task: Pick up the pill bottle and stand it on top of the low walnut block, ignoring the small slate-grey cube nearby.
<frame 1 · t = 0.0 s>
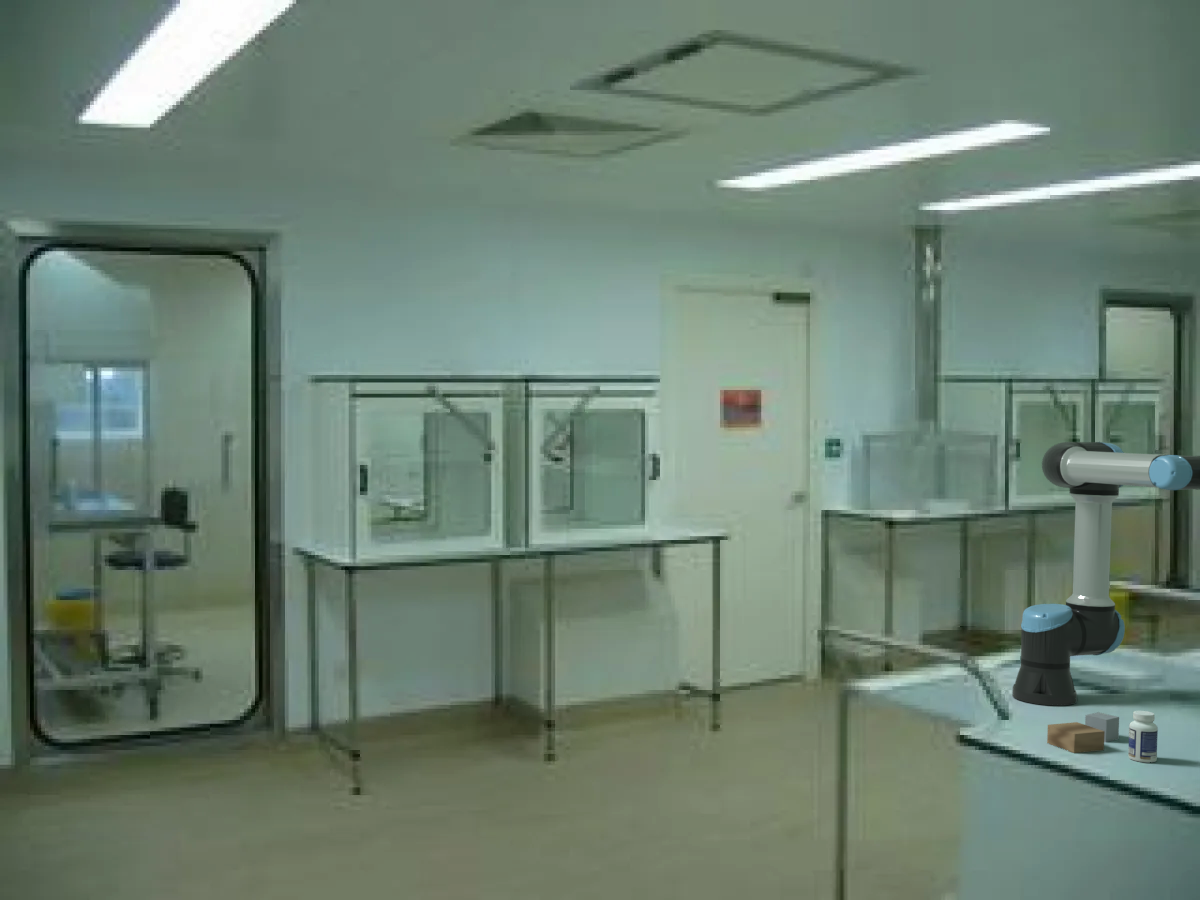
slate cube: (1101, 738, 265), on the table
walnut block: (1075, 746, 257), on the table
pill bottle: (1142, 760, 248), on the table
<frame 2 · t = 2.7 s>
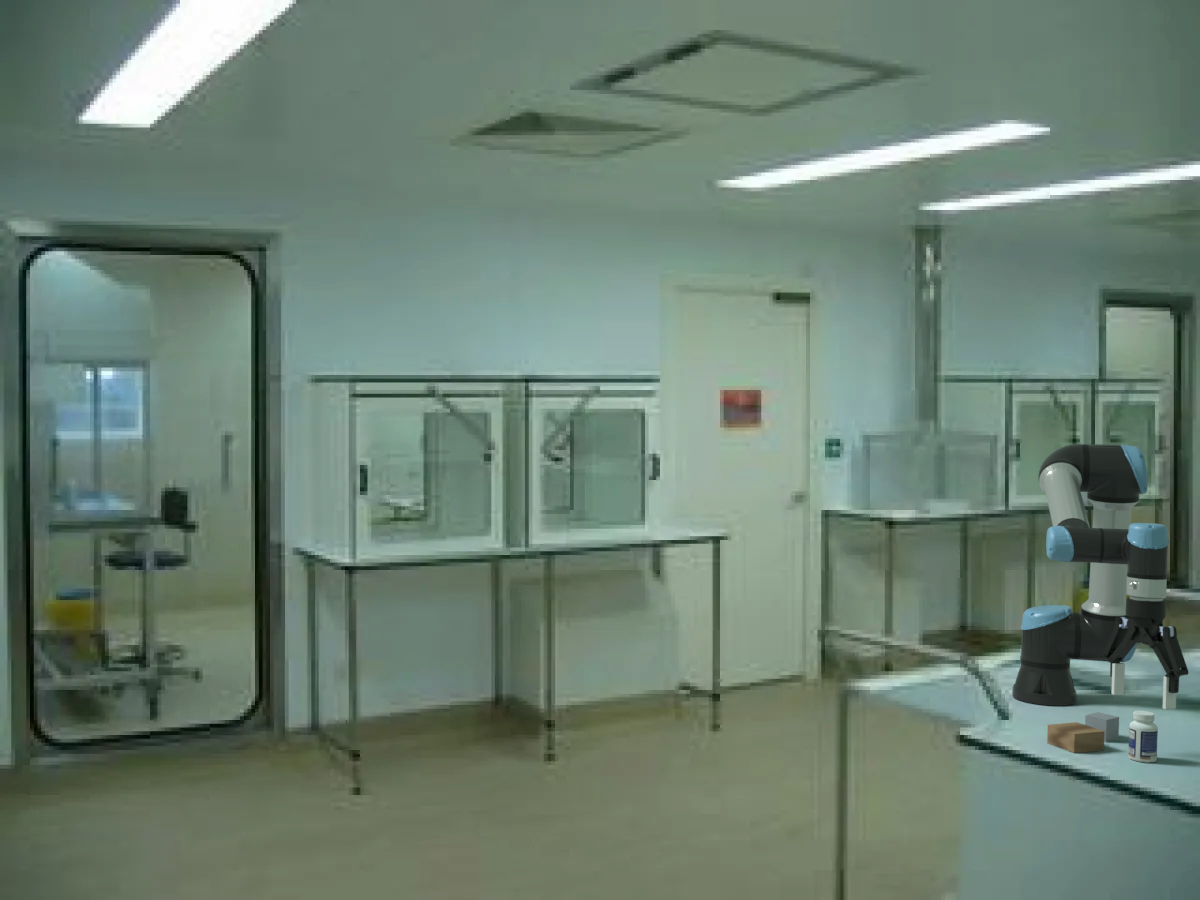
hand: (1142, 701, 248), 12 cm above the table, fingers open, 13 cm apart
nothing on the table moved.
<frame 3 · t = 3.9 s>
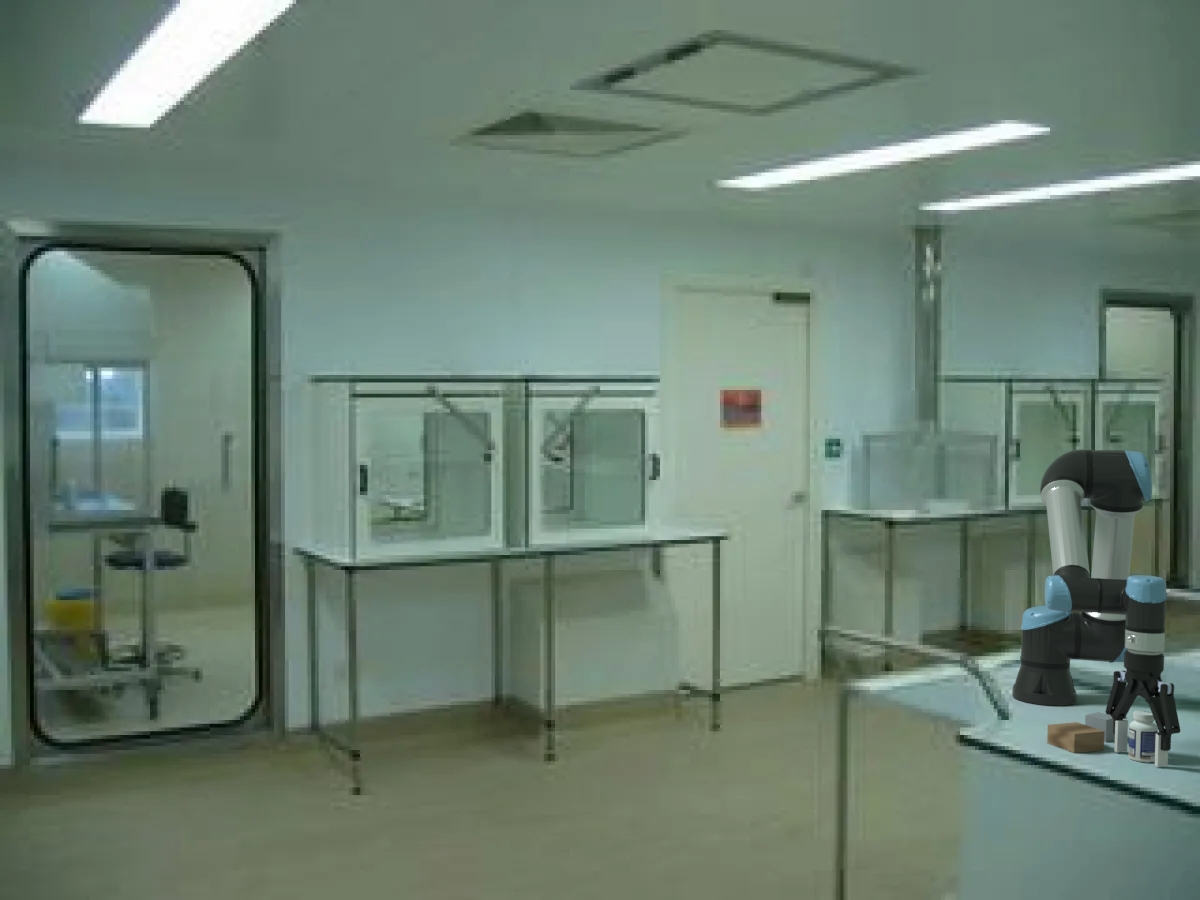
hand: (1140, 758, 248), 0 cm above the table, fingers open, 10 cm apart
nothing on the table moved.
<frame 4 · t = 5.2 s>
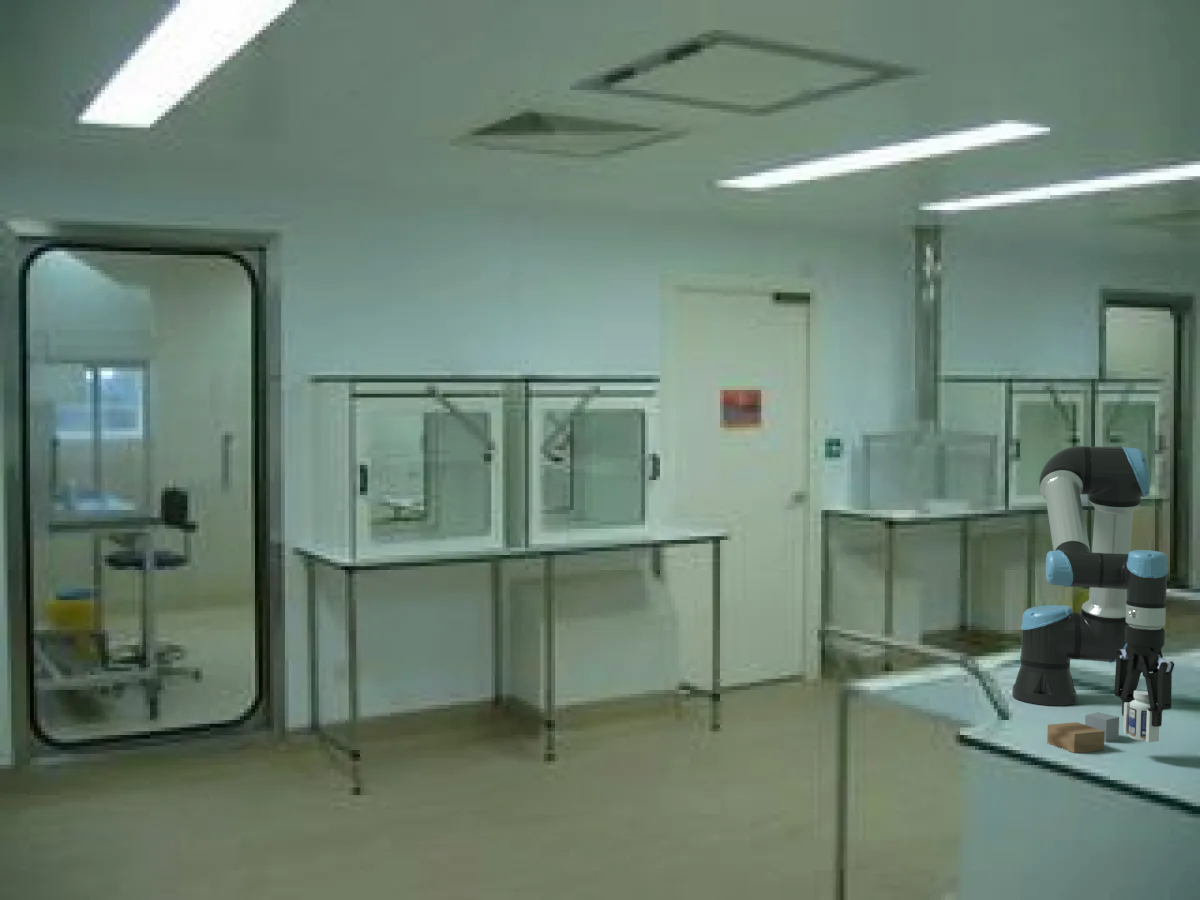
hand: (1140, 736, 249), 5 cm above the table, fingers closed on pill bottle, 5 cm apart
pill bottle: (1142, 739, 249), point 4 cm above the table, touching gripper
everything else where it was.
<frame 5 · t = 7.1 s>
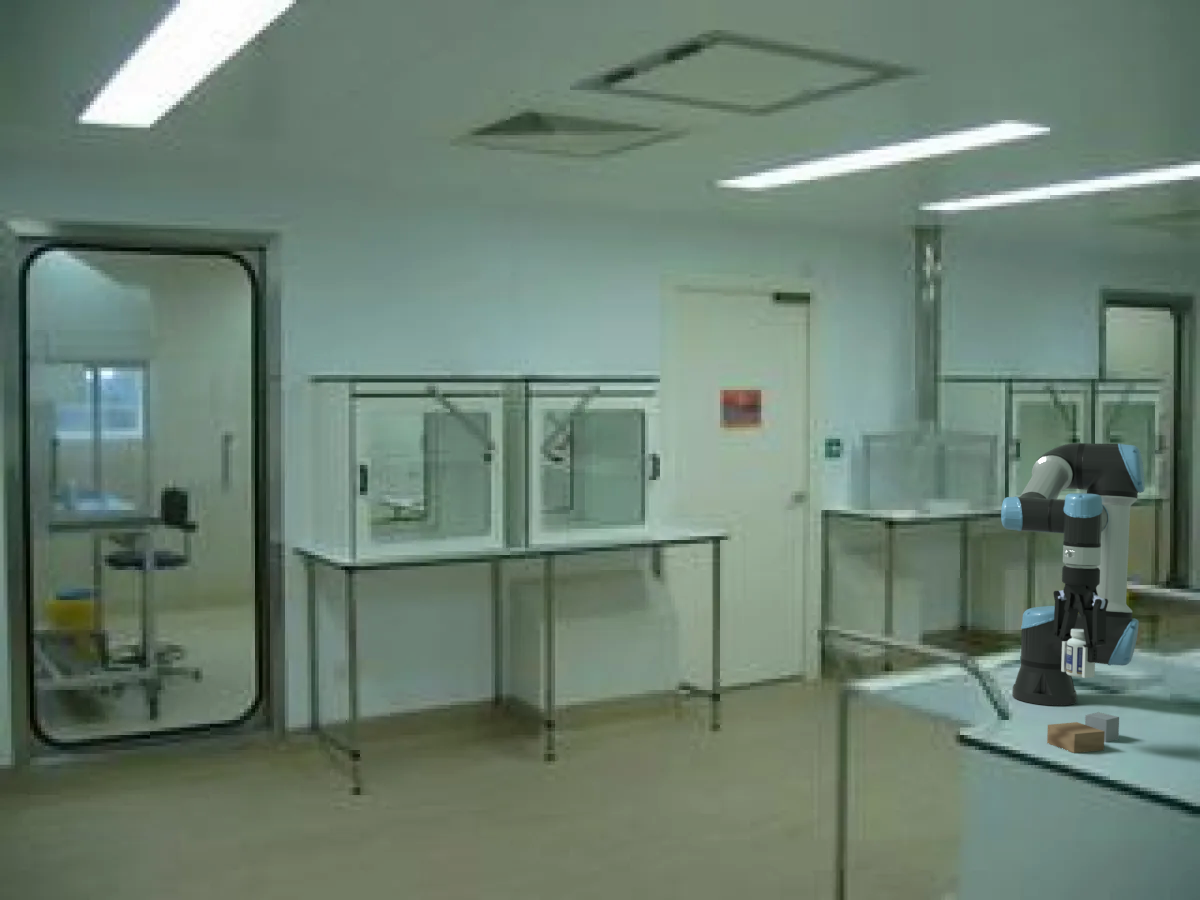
hand: (1077, 673, 257), 16 cm above the table, fingers closed on pill bottle, 5 cm apart
pill bottle: (1079, 676, 257), point 15 cm above the table, touching gripper
everything else where it was.
when the fingers open (5 cm above the table, at t = 9.2 s): pill bottle stays where it is, resting on walnut block.
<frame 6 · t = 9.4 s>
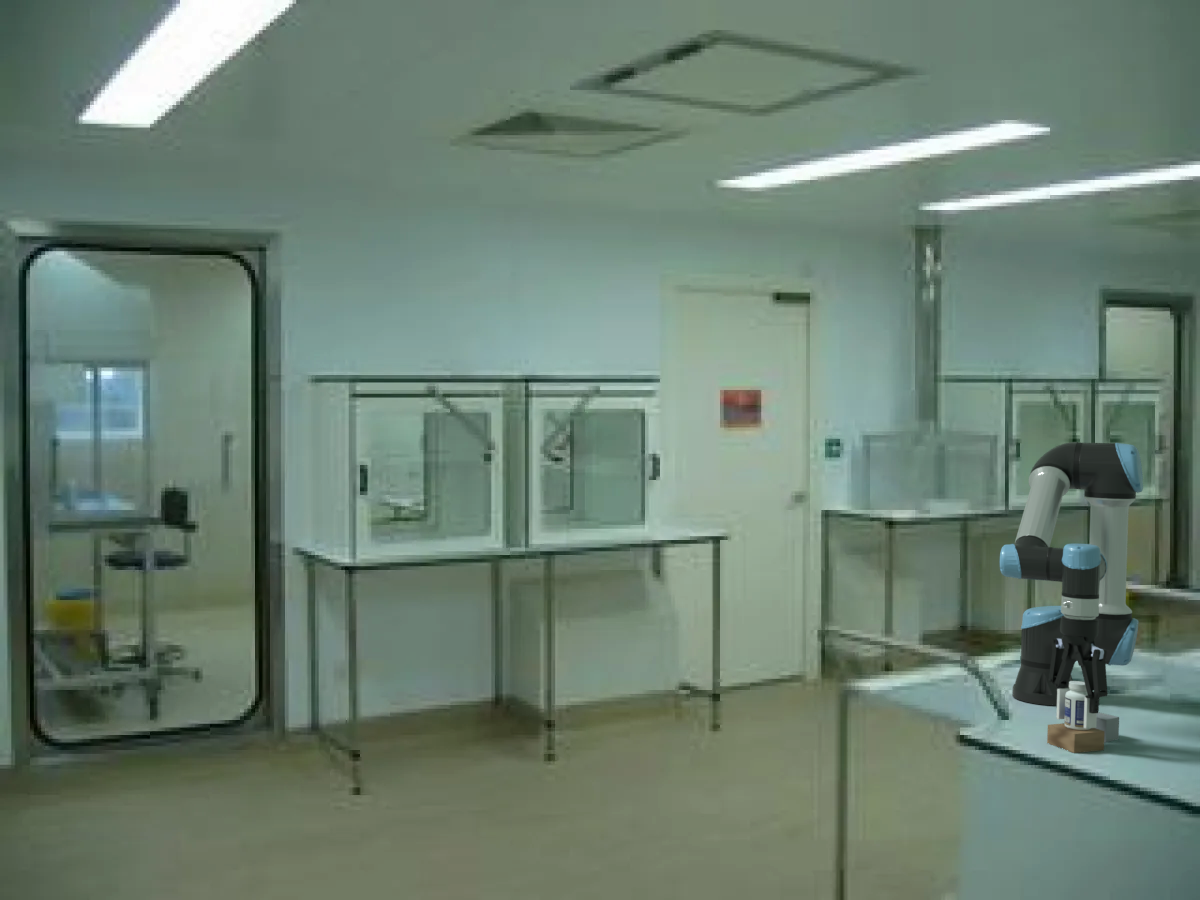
hand: (1076, 722, 257), 5 cm above the table, fingers open, 7 cm apart
pill bottle: (1077, 728, 258), point 4 cm above the table, touching walnut block
everything else where it was.
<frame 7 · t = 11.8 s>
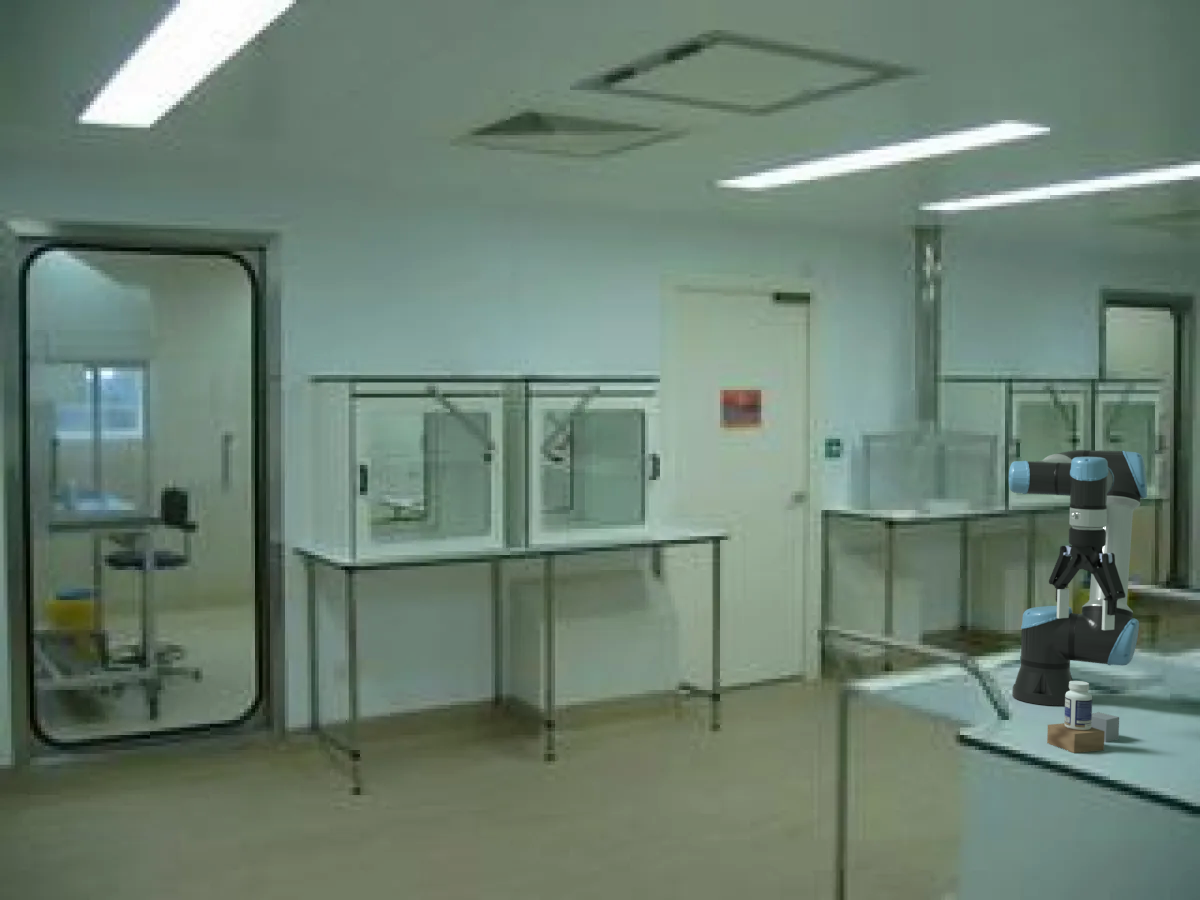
hand: (1084, 623, 264), 25 cm above the table, fingers open, 13 cm apart
nothing on the table moved.
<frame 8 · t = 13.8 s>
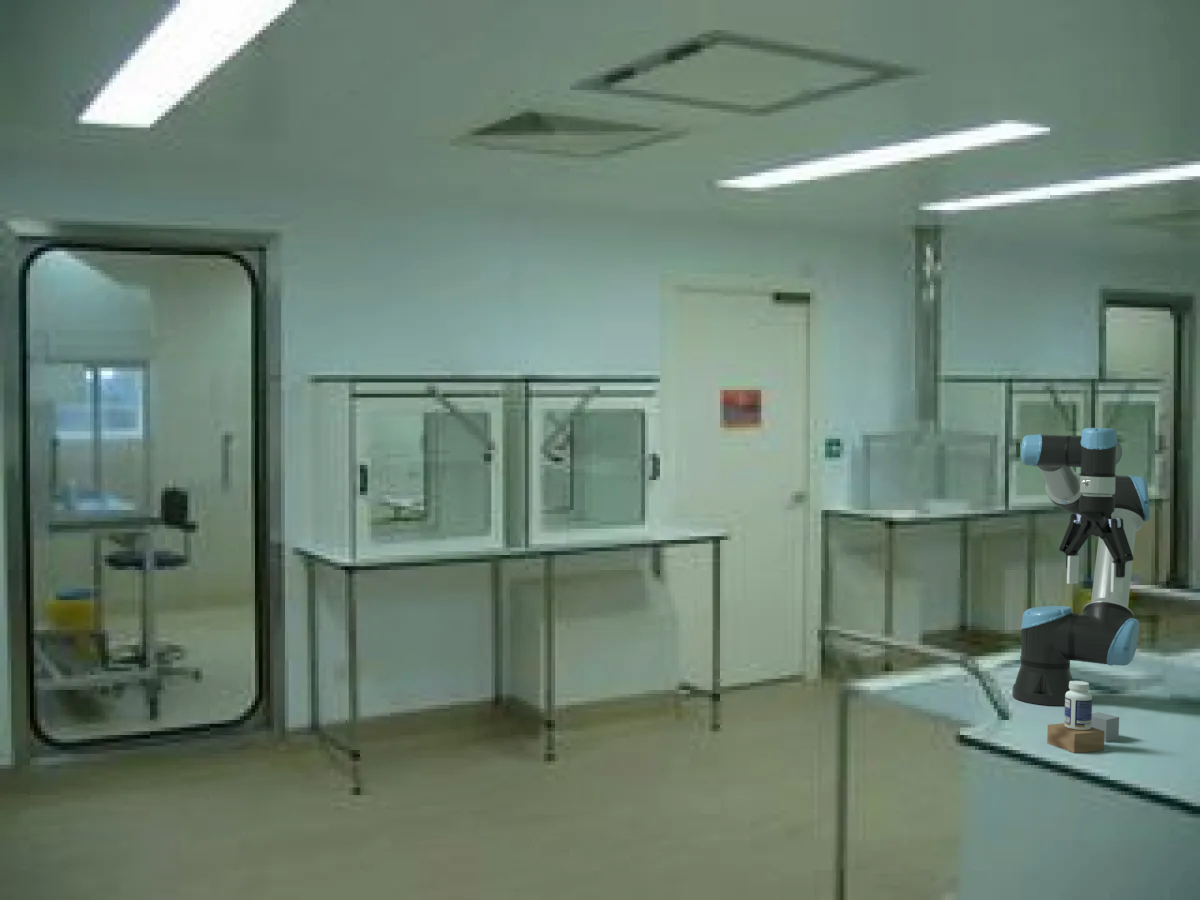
hand: (1094, 587, 276), 32 cm above the table, fingers open, 13 cm apart
nothing on the table moved.
at the end: pill bottle 0.5 cm off-centre on the walnut block, point 3.8 cm above the walnut block's base; pill bottle tilted 0°; the gripper is holding nothing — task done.
